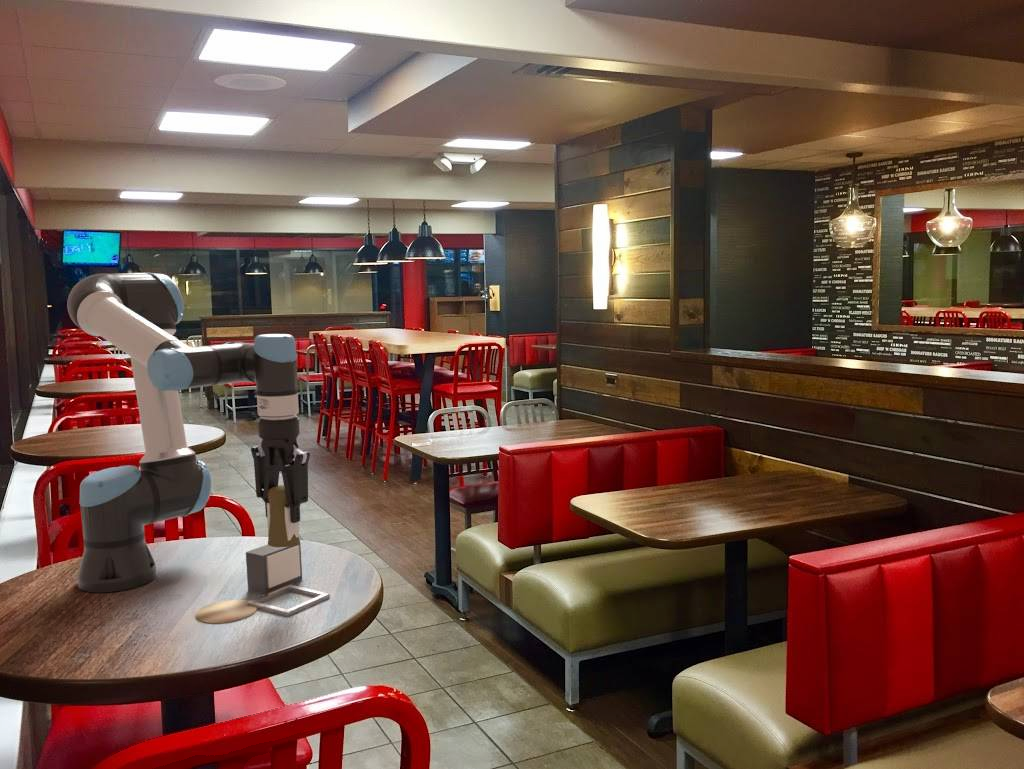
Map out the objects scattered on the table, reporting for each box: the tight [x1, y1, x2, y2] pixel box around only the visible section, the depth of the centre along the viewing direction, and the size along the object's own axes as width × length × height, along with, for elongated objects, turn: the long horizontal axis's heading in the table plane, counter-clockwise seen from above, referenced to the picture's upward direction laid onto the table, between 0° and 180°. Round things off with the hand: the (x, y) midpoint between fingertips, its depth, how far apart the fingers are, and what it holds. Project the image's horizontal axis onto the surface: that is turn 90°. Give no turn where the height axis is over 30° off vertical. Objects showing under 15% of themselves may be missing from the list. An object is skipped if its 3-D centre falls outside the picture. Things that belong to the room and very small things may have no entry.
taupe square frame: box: [247, 584, 331, 617], centre depth 171 cm, size 11×11×1 cm
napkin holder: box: [245, 541, 303, 595], centre depth 180 cm, size 5×10×8 cm, turn 148°
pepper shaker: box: [267, 484, 301, 547], centre depth 169 cm, size 6×6×11 cm
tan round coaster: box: [195, 599, 258, 624], centre depth 166 cm, size 11×11×1 cm
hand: (283, 536), depth 170 cm, fingers closed on pepper shaker, 4 cm apart
